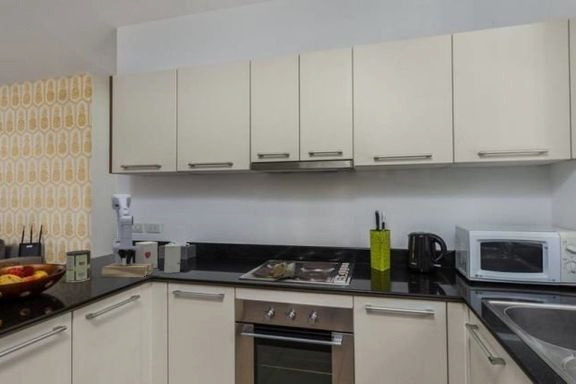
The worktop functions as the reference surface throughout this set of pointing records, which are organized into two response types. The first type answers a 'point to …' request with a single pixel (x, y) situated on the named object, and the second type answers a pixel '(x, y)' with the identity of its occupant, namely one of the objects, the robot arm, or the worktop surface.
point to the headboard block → (127, 270)
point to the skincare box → (172, 258)
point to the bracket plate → (124, 262)
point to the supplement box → (147, 253)
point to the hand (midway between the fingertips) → (126, 263)
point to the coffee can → (78, 266)
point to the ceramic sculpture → (282, 270)
